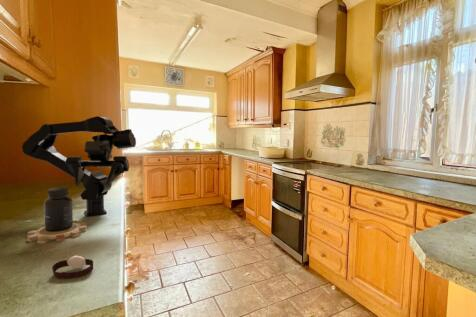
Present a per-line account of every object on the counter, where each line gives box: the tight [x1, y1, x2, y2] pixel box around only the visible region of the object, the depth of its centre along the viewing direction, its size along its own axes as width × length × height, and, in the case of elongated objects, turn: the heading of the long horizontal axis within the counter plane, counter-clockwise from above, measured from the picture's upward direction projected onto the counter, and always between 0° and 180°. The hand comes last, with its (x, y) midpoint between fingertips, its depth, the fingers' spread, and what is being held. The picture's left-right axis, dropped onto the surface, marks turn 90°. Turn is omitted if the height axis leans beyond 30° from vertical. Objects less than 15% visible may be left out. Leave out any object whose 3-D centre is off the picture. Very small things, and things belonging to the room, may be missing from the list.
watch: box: [51, 254, 94, 280], centre depth 52 cm, size 8×5×4 cm, turn 100°
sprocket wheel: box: [26, 220, 88, 244], centre depth 73 cm, size 14×14×1 cm
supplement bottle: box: [43, 186, 74, 232], centre depth 72 cm, size 7×7×12 cm
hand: (92, 184), depth 78 cm, fingers open, 9 cm apart
